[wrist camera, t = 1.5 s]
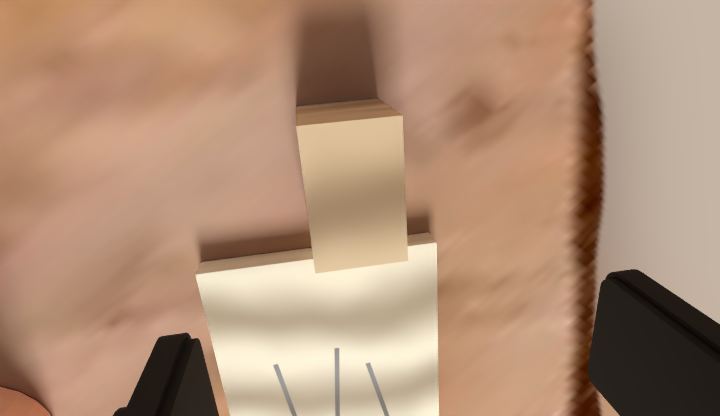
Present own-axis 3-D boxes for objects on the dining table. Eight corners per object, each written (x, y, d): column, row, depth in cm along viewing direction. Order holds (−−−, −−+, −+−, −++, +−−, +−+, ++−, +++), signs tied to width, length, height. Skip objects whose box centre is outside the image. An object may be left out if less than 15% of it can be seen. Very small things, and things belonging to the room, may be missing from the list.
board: (200, 262, 26) (195, 274, 24) (429, 232, 27) (436, 242, 26) (255, 493, 33) (254, 513, 32) (433, 460, 35) (439, 477, 33)
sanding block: (295, 106, 24) (296, 126, 18) (377, 98, 24) (402, 115, 18) (311, 223, 26) (315, 273, 21) (384, 214, 27) (408, 260, 21)
